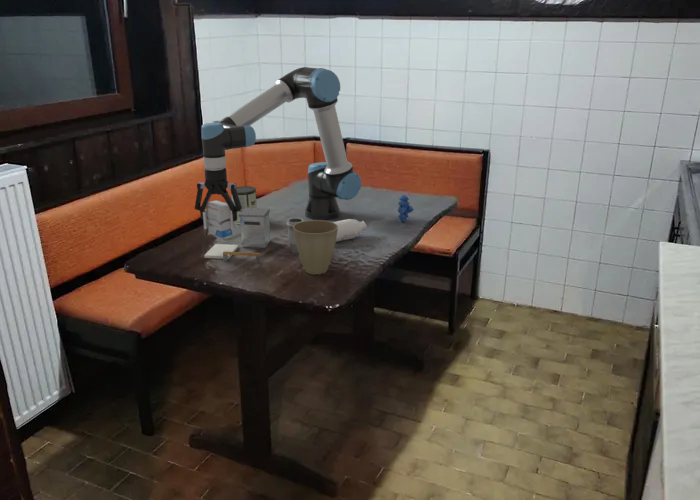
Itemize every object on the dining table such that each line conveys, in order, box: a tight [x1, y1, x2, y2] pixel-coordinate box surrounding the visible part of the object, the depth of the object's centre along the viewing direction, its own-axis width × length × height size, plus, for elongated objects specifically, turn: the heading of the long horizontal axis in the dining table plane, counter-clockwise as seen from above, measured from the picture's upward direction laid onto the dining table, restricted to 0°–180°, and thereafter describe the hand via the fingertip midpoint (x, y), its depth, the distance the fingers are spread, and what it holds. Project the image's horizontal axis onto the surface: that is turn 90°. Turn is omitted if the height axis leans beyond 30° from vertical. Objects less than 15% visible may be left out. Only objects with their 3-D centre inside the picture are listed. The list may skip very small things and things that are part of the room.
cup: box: [286, 217, 305, 254], centre depth 227 cm, size 7×7×12 cm
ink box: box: [205, 200, 233, 239], centre depth 223 cm, size 9×5×12 cm, turn 47°
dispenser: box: [222, 208, 271, 264], centre depth 227 cm, size 13×24×13 cm, turn 173°
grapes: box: [397, 194, 415, 223], centre depth 259 cm, size 12×7×12 cm, turn 163°
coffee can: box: [231, 185, 258, 225], centre depth 260 cm, size 10×10×14 cm
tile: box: [204, 243, 239, 260], centre depth 227 cm, size 9×12×1 cm
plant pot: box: [293, 219, 338, 275], centre depth 208 cm, size 15×15×16 cm
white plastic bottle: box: [332, 218, 368, 243], centre depth 239 cm, size 8×19×8 cm, turn 123°
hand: (219, 228), depth 224 cm, fingers closed on ink box, 9 cm apart
